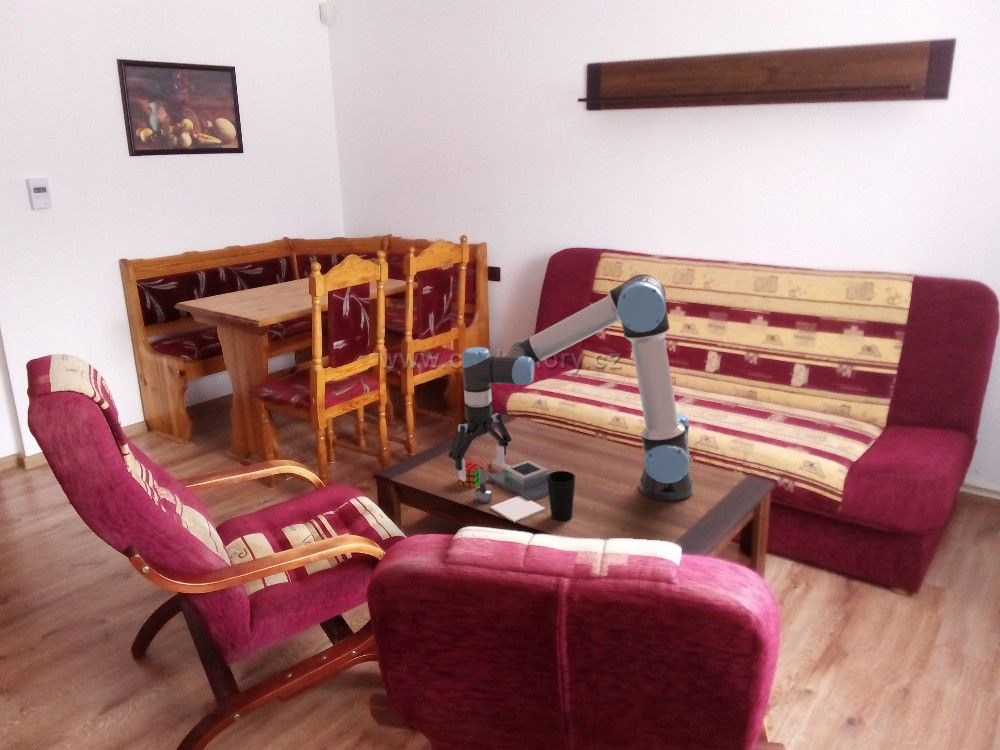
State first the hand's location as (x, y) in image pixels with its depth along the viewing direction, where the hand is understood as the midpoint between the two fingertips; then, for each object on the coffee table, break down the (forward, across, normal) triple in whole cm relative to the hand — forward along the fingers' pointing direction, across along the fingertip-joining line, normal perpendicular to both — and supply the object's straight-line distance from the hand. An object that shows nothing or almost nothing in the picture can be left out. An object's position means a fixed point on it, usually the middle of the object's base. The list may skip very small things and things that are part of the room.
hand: (482, 473), depth 219 cm
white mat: (+9, -4, +11) cm, 15 cm away
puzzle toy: (+9, -4, -12) cm, 15 cm away
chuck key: (+9, 0, 0) cm, 9 cm away
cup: (+9, -10, +22) cm, 26 cm away
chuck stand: (+9, -16, -3) cm, 18 cm away
